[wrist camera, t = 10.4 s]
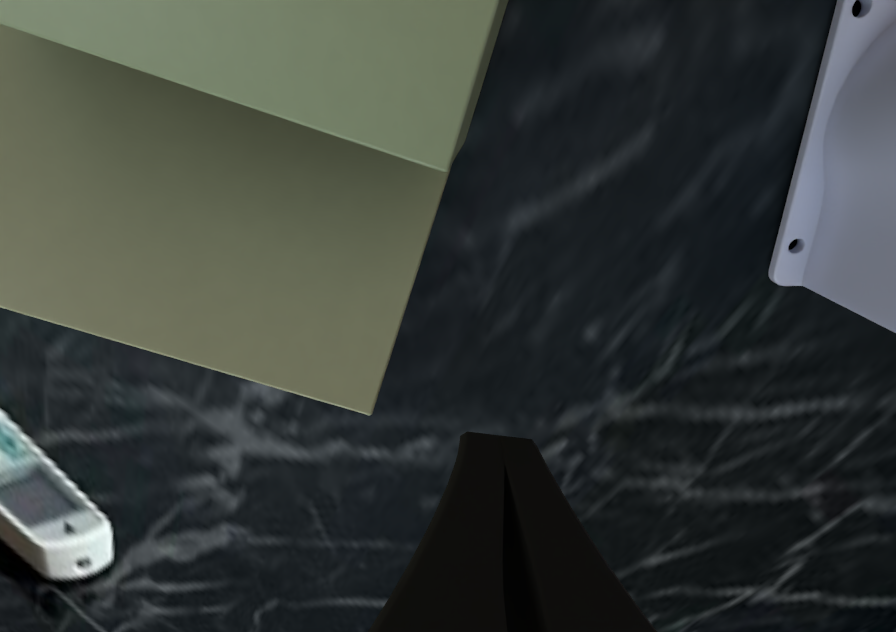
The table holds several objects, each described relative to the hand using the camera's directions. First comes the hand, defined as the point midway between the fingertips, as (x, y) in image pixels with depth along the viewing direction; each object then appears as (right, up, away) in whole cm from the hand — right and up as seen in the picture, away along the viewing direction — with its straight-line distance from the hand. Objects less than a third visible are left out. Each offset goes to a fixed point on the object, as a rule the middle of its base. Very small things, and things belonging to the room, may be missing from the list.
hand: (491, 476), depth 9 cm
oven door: (-8, +10, +8) cm, 15 cm away
